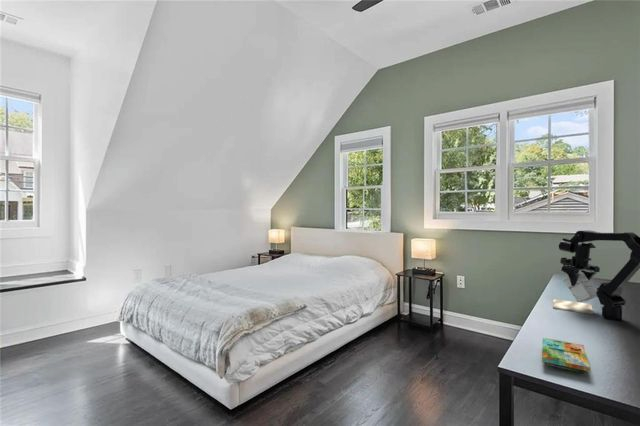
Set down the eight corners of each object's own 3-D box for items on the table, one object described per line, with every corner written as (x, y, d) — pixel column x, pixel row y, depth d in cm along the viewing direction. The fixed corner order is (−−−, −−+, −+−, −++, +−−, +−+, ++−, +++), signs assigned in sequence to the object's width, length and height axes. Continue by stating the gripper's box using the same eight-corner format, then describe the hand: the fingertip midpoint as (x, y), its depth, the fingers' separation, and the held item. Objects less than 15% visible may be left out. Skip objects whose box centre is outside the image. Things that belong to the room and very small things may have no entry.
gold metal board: (590, 305, 173) (590, 303, 173) (593, 314, 158) (593, 312, 158) (553, 300, 182) (553, 299, 182) (552, 308, 168) (552, 306, 168)
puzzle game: (583, 342, 114) (590, 364, 97) (583, 355, 114) (590, 380, 97) (542, 335, 120) (542, 355, 104) (542, 348, 120) (542, 369, 104)
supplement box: (577, 302, 164) (561, 279, 171) (587, 301, 166) (571, 278, 173) (590, 296, 158) (573, 273, 165) (600, 295, 160) (583, 272, 168)
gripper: (579, 250, 175) (575, 279, 177) (552, 252, 170) (549, 281, 171) (602, 255, 164) (598, 286, 166) (574, 257, 159) (571, 288, 161)
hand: (578, 285), depth 166 cm, fingers closed on supplement box, 7 cm apart
